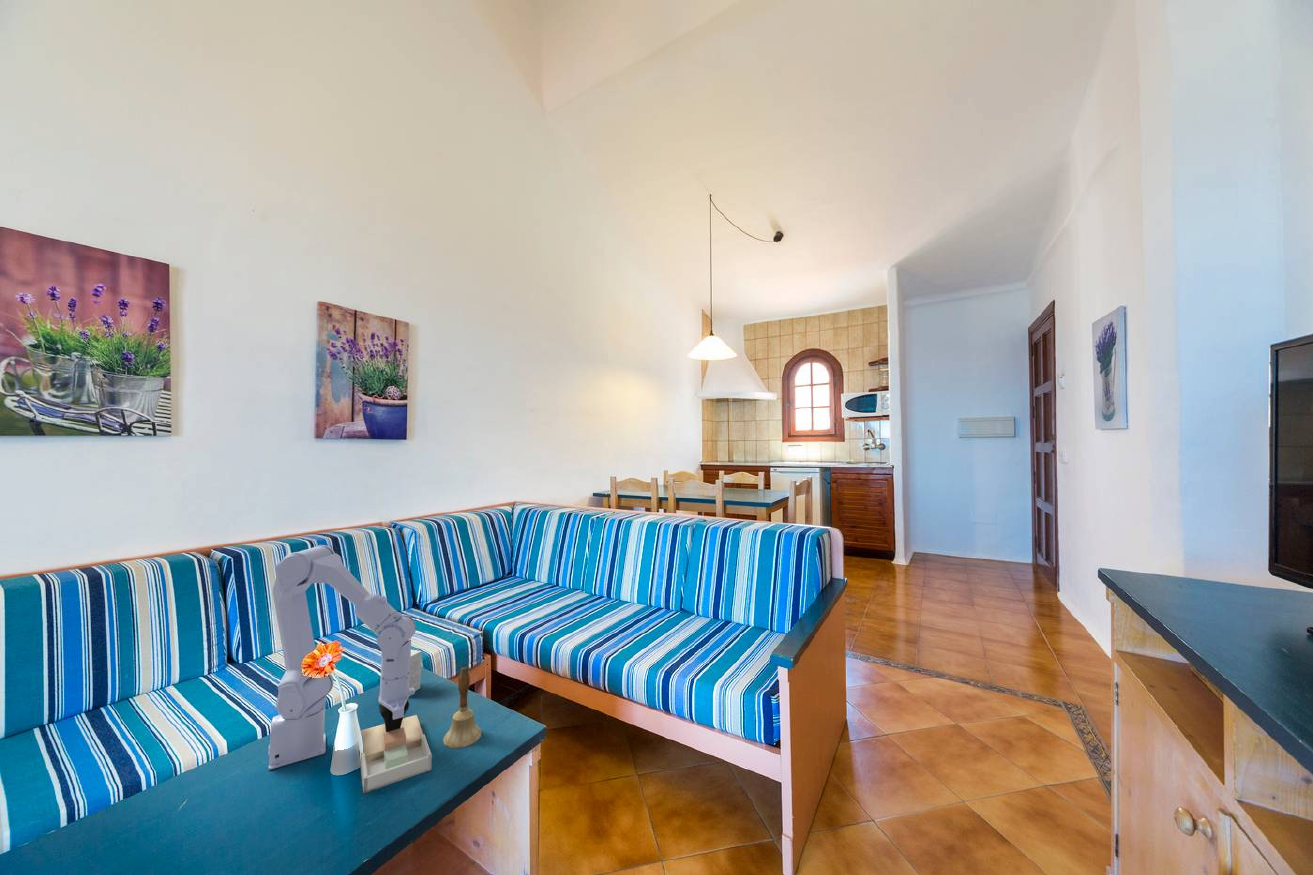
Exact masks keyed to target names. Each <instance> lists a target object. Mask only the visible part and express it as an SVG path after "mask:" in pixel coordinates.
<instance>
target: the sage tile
mask: <svg viewBox="0 0 1313 875" xmlns="http://www.w3.org/2000/svg"><path fill="white" fill-rule="evenodd" d="M407 762H408V752H407V748H406V745H402V746H399V747H395V748H392V749H389V750H386V751H384V762H383V764H384V769H385V770H386V769H389V768H392V767H395V766H398V765H401V764H404V763H407Z"/></svg>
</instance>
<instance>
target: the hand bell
mask: <svg viewBox="0 0 1313 875" xmlns="http://www.w3.org/2000/svg"><path fill="white" fill-rule="evenodd" d="M470 683H471V678H470V674H469V671H468V666H463V667H461V668H460V672H459V675H458V679H457V690H458V693H459V710H457V711H456V712H454V713H453V716H452V721H451V725H450V728H449V730H448V731H447V732H446V733H445V735H444V737H443V738H442V743H443V745H444V746H445V747H447V748H450V749H463V748H466V747H469V746H471V745H473V744H475V743H476V742H478V741H479V740H480V738H481V737H482V735H483V734H482V733H483V732H482V729H481V728H480V727H479V726H478V725H477V723H476V721H475V713H474V711H473V709H470V708H468V692H469V690H470Z"/></svg>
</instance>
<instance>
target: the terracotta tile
mask: <svg viewBox="0 0 1313 875" xmlns="http://www.w3.org/2000/svg"><path fill="white" fill-rule="evenodd" d="M402 745H406V735H405V731H404V727H403V728H399V729H396V730H392V731H389V732H385V733H383V740H382V746H383V752H384V751H386V750H389V749H392V748H395V747H399V746H402Z"/></svg>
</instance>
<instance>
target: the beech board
mask: <svg viewBox="0 0 1313 875" xmlns="http://www.w3.org/2000/svg"><path fill="white" fill-rule="evenodd" d="M403 727H404V731H405V735H406V748H407V750H410V749H413V748H417V747H420V746H421V737H422V735H423V734H424V733H423V729H422V726H421V723H420V721H419V718H418V714H414V715H411V716H407V717H403V720H402V724H401V728H403ZM360 731H361V734H362V740H363V753H365V760H366V763H370V762H373V761H376V760H379V759H382V758H384V752H383V746H382V740H383V733H385V732H386V729H385V723H382V724H379V725H376V726H372V727H368V728H364V729H361V730H360Z"/></svg>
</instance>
